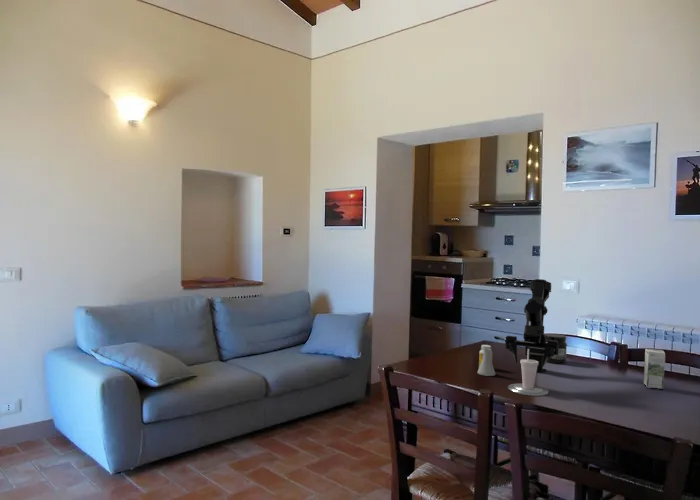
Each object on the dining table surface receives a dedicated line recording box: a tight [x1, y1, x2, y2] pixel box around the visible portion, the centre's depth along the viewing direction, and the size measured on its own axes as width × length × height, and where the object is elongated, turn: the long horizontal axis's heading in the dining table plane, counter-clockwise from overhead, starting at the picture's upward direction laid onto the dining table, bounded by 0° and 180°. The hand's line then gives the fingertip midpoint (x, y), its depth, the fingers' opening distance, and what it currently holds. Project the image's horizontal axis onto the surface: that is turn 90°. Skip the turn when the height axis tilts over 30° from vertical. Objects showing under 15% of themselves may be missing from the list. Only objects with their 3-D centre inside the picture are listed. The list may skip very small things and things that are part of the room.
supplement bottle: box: [478, 344, 493, 368], centre depth 218 cm, size 5×5×10 cm
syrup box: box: [643, 348, 666, 389], centre depth 198 cm, size 6×6×14 cm
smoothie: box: [519, 349, 539, 389], centre depth 187 cm, size 6×6×14 cm
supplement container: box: [544, 333, 568, 365], centre depth 236 cm, size 10×10×12 cm
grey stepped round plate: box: [507, 383, 549, 397], centre depth 188 cm, size 14×14×1 cm
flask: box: [476, 349, 496, 377], centre depth 208 cm, size 7×7×10 cm
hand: (529, 364), depth 188 cm, fingers open, 9 cm apart
